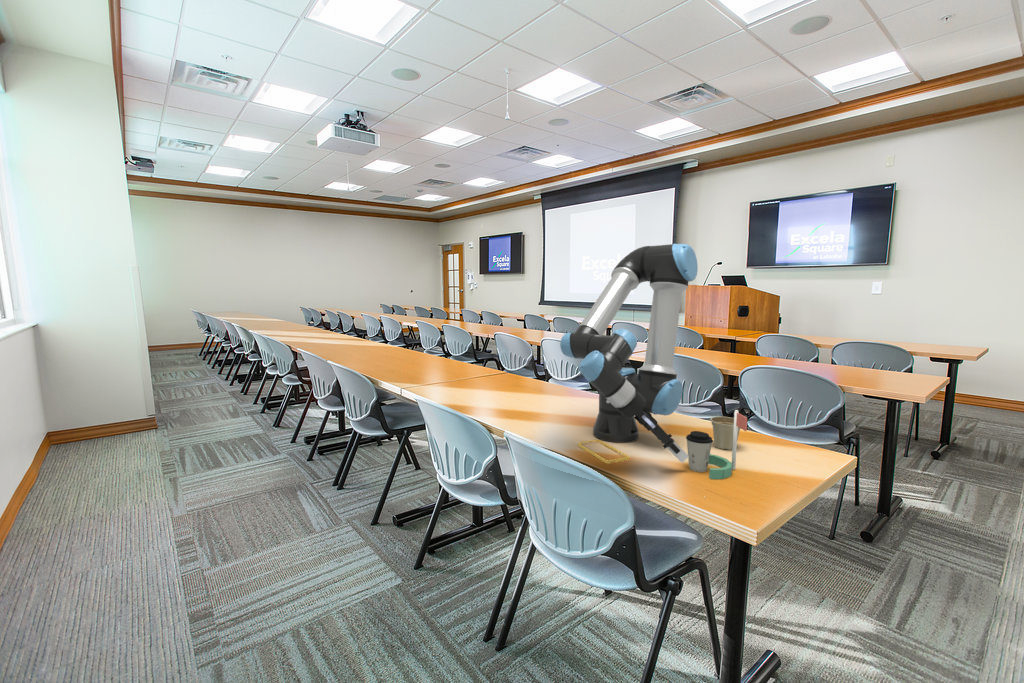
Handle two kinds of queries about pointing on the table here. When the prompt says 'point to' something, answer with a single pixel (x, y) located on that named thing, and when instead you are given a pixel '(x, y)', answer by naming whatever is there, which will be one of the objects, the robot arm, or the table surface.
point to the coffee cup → (698, 450)
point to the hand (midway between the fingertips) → (684, 458)
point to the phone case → (600, 456)
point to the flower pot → (723, 432)
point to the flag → (738, 422)
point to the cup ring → (719, 472)
